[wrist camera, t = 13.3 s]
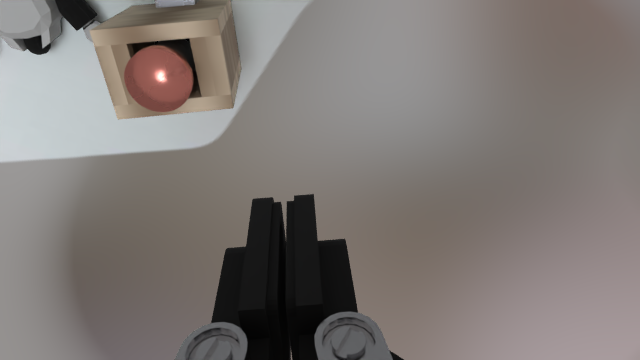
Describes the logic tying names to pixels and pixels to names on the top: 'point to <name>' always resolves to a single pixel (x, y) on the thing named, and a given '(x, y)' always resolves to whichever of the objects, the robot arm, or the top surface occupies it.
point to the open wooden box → (168, 24)
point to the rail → (174, 3)
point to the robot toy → (42, 22)
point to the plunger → (161, 75)
